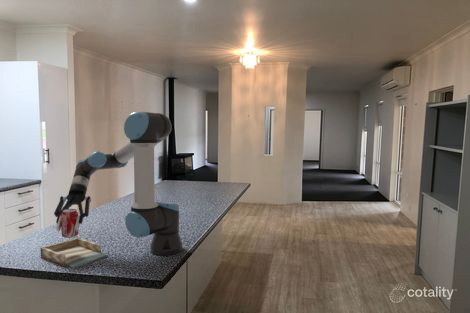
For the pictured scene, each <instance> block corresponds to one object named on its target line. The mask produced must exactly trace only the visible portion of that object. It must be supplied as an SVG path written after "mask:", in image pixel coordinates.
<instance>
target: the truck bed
mask: <svg viewBox="0 0 470 313" xmlns="http://www.w3.org/2000/svg"><path fill="white" fill-rule="evenodd" d="M40 258H44V259H46V260H48V261H51V262H53V263H55V264H58V265H61V266H66V267H67V266H68V267H70V268H73V269H75V268H76V269H77V268H78V267H81V266H84V265H86V264H90V263H93V262H96V261H99V260H102V259H104V258H108V254H106V253H104V252H102V245H101V243H96V242H93V241H90V240H86V239H83V238H81V237H77V238H73V239H72V238H71V239H68V240H65V241H61V242H57V243H54V244H49V245H46V246H42V247H40Z"/></svg>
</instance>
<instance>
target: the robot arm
mask: <svg viewBox="0 0 470 313" xmlns="http://www.w3.org/2000/svg"><path fill="white" fill-rule="evenodd" d="M172 129H173V128H172V122H171V120H170V118H169V117H168V116H167V115H166V114H163V113H159V112H147V111H135V112H132V113H130V114H129V115H128V116H126V118H125V121H124V124H123V132H124V134H125V136H126V138H127V139H129V141H128V142H127V143H126V144H124V145H123V146H121V147H119V149H117V150H116V151H114V152H113V153H106V154H105V153H104V152H102V151H99V150H97V151H94V152H92V153H91V154H89V155H88V157H86V158H83V159H80V160H79V161H77V163H76V165H75V170H74V174H73V178H72V181H71V183H70V188H69V190H68V194H67V195H66V196H62V195H61V196H60V197H59V201H58V204H57V206H56V208H55V210H54V213H53V215H54V216H55V217H56V220H55V222H56V228H55V229H56V230H57V232H61V214H62V213H63V210H66V209H71V207H72V206H75V205H76V206H78V207H77V208H78V211H79V212H78V213H79V214H78V217H77V221H76V225H75V230H76V231H78V229H79V228H80V225H82V224H83V222H84V218H88V217H89V215H90V214H89V212H90V203H91V201H92V198H91V196H89V195H88V196H86V195H87V192H88V191H87V190H88V187H89V182H90V179H91V176H92V175H93V174H95V173H96V172H97V171H99V170H109V169H111V170H112V169H120V168H125V167H126V166H128V165H127V164H128V163H129V161H130V160H131V159H133V182H134V184H133V186H134V187H133V188H134V189H133V191H134V193H133V194H134V195H133V196H134V200H133V201H134V202H133V203H132V204H130V205H131V206H130V212H128V213H127V215H126V216H125V219H124V220H125V227H126V229H127V232H129V234H130V235H131V236H132V237H134V238H140V239H141V238H145V237H149V236H150V235H153V236H152V239H151V240H152V241H151V244H150V245H149V246H150V247H149V248H150V249H149V250H150V253H151V254H153V255H157V256H170V255H175V254H178V253H180V252H182V251H183V243H182V240H181V236H180V233H179V232H180V229H179V228H180V208H179V204H178V203H176V202H172V201H162V200H161V201H159V200H158V201H156V200H155V197H156V195H155V147H156V146H157V145H158V144H159V143H161V142H162V141H164V140H165V139H167V138H168V136H169V135H170V134H171V132H172ZM84 201H85V203H84V209H83V202H84ZM65 202H66V203H65Z"/></svg>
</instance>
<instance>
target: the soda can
mask: <svg viewBox="0 0 470 313" xmlns="http://www.w3.org/2000/svg"><path fill="white" fill-rule="evenodd" d="M78 215H79V212H78V211H77V208H69V209H66V210H63V213H62V214H61V229H60V232H61V236H62V237H63V238H64V239H72V238H75V237H77V236H78V235H79V229H78V231H76V230H75V225H76V221H77V217H78Z"/></svg>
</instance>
